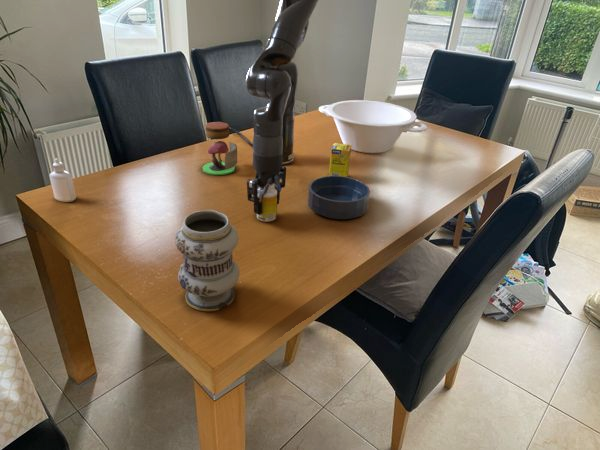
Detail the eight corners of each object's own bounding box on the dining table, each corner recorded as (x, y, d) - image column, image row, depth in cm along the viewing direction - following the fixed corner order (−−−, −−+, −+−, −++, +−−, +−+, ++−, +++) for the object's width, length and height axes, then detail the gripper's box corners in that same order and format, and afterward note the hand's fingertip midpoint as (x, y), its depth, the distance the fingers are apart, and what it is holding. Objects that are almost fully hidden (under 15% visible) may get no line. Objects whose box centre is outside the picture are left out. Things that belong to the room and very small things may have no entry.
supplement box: (346, 183, 145) (349, 150, 140) (328, 180, 146) (330, 148, 140) (348, 175, 150) (351, 144, 145) (330, 173, 151) (333, 142, 145)
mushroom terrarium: (201, 178, 143) (198, 132, 135) (200, 163, 153) (198, 119, 146) (239, 176, 145) (238, 131, 137) (235, 162, 156) (234, 119, 148)
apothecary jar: (205, 324, 85) (199, 244, 76) (168, 295, 92) (158, 219, 83) (252, 296, 93) (251, 220, 84) (214, 271, 100) (211, 199, 91)
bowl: (296, 208, 128) (297, 189, 125) (327, 188, 140) (328, 171, 137) (349, 228, 120) (351, 208, 117) (377, 205, 132) (380, 186, 129)
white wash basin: (434, 146, 180) (440, 113, 174) (405, 173, 155) (411, 135, 148) (337, 124, 199) (340, 93, 192) (297, 145, 173) (298, 110, 167)
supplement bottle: (280, 220, 121) (281, 186, 116) (260, 224, 119) (261, 189, 114) (271, 211, 126) (272, 177, 121) (253, 214, 124) (253, 180, 118)
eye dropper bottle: (62, 204, 123) (52, 164, 117) (53, 198, 126) (43, 157, 120) (78, 200, 126) (69, 159, 120) (69, 193, 129) (60, 154, 123)
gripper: (272, 139, 120) (271, 195, 128) (237, 154, 109) (238, 214, 118) (296, 146, 116) (293, 203, 125) (261, 162, 106) (261, 223, 114)
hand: (266, 208), depth 121 cm, fingers open, 7 cm apart
